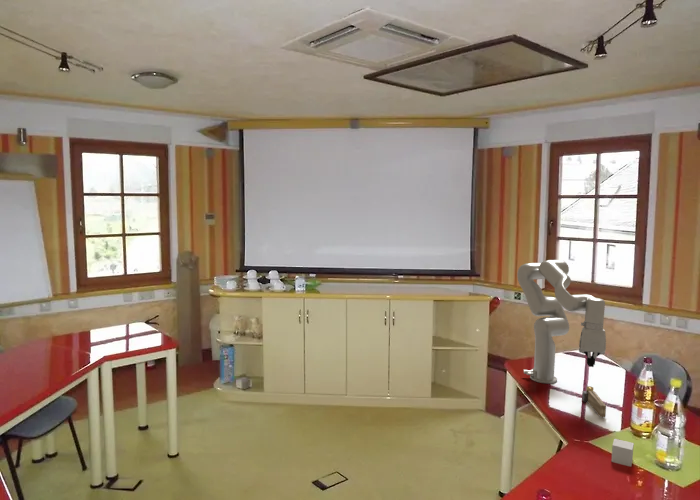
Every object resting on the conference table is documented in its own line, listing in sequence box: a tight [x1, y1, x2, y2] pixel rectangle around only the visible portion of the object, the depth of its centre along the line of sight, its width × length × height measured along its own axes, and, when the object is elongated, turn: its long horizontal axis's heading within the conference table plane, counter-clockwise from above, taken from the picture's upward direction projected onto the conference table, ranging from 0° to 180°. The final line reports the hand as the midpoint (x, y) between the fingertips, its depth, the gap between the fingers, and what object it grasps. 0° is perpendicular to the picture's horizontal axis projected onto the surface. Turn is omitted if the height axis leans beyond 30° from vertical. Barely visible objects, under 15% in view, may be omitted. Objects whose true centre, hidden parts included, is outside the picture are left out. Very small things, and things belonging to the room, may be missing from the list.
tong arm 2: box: [592, 390, 607, 418], centre depth 217 cm, size 1×16×5 cm, turn 170°
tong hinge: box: [581, 390, 588, 403], centre depth 228 cm, size 5×3×4 cm, turn 80°
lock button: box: [585, 385, 594, 392], centre depth 227 cm, size 3×3×2 cm
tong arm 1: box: [587, 391, 604, 418], centre depth 218 cm, size 1×16×5 cm, turn 171°
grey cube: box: [611, 438, 635, 467], centre depth 175 cm, size 6×6×6 cm
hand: (590, 365), depth 227 cm, fingers closed
